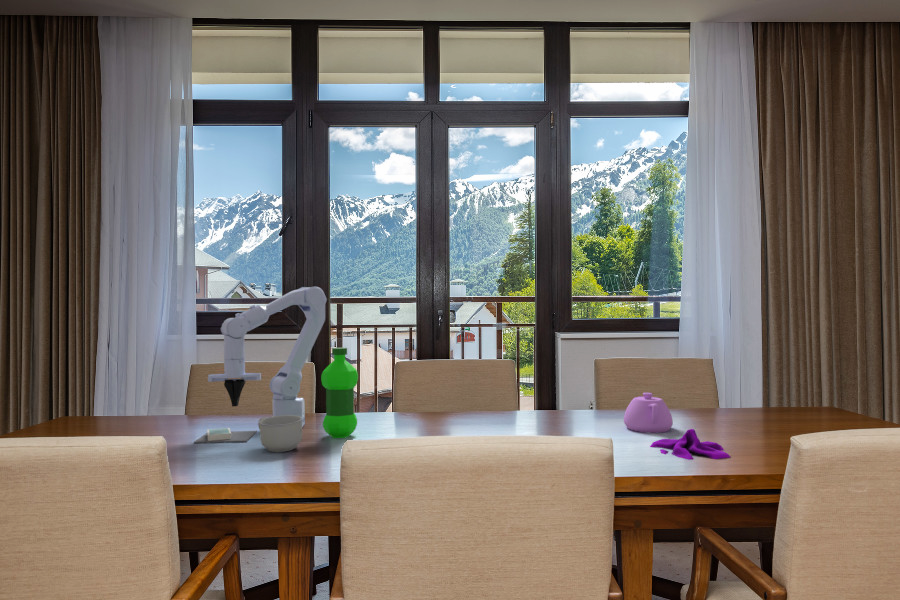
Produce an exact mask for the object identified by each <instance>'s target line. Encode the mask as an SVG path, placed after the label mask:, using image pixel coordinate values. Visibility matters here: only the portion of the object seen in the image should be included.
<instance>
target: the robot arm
mask: <svg viewBox="0 0 900 600" xmlns="http://www.w3.org/2000/svg"><path fill="white" fill-rule="evenodd" d="M327 300H328V298H327V297H326V295H325V292H324V290H323V289H322V288H321V287H318V286H311V287H310V286H309V287H306V286H302V287H300V288H298V289H294V290H291V291H288V292H287V293H285V294H283V295H282V296H280V297H278V298H276V299H275V300H273V301H271V302H269V303H268V304H266V305H264V306H262V305H259V304H257V305H255V304H252V305H250V306H249V309H247V310H244V311H243V312H238V313H235V317H228V318H227V319H225V320H223V322H222V324H221V327H220V332H221V334H222V335H223V367H224V368H223V370H224V373H216V374H208V375H207V382H208V383H212V382H224V383H223V385H224V388H225V389H226V392H227V393H228V395H229V398H230V401H231V403H230V404H231V406H232V407H238V406H239V402H240V398H241V394H242V391H243V389H244V386H245V384H246V381H261V380H262V373H261V372H257V373H255V372H246V350H245V349H246V346H245V344H246V343H245V336H246V334H247V333H248V332H250V331H252V330H255V328H258V327H259V326H262V325H263V324H265V323H267V322H268V320H269V318H270V316H271V315H274V314H276V313H278V312H280V311H283V310H284V309H287V308H289V307H291V306H294V305H295V306H298V307H299V308H300V309H301V311H302V312H303V313H304V316H305V318H306V320H305V322H304V324H303V326H302V328H301V331H300V333H299V335H298V337H297V339H296V341H295V343H294V345H293V347H292V349H291V351H290V353H289V355H288V357H287V360H286V362H285V363H284V365H283V366H282V367H280V368H279V370H278V372H277V373H276V374H275V375H274V376H273V377H272V378H271V380H270V381H269V389H270V392H271V393H272V394H273V395H272V417H273V416H280V415H296V416H300V417H301V418H302V428H303V427H304V426H305V425H306V418H305V416H306V414H305V412H306V411H305V409H306V408H305V406H306V405H305V398H304V397H298V395H299V393H300V390H301V382H302V379H303V373H302V371H303V368H304V366H305V363H306V362H307V359H308V357H309V355H310V353H311V351H312V349H313V347H314V345H315V343H316V340H317V338H318V336H319V334H320V332H321V331H322V328H323V325H324V323H325V322H326V303H327Z"/></svg>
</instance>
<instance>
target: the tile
mask: <svg viewBox="0 0 900 600" xmlns="http://www.w3.org/2000/svg"><path fill="white" fill-rule="evenodd" d="M206 431H207V432H206V433H207V437H208V441H213V440H225V439H231V428H230V427H226V428H225V427H224V428H213V429H212V428H210V429H209V428H208V429H206Z"/></svg>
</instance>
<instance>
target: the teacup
mask: <svg viewBox="0 0 900 600" xmlns="http://www.w3.org/2000/svg"><path fill="white" fill-rule="evenodd" d="M257 425H258V429H259V436H260V442H261V445H262V447H264V449H267V450H268V451H269V452H272V453H283V452H290V451H293V450H294V449H296V447H297V446H298V445H299V444H300V443H301V441H302V438H303V427H302V418H301V417H300V416H296V415H280V416H273V415H272V416H270V417H269V416H268V417H266V416H263V417H261V418H260V419H259V420H258V423H257Z"/></svg>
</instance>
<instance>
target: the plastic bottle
mask: <svg viewBox="0 0 900 600" xmlns="http://www.w3.org/2000/svg"><path fill="white" fill-rule="evenodd" d="M331 355H332V356H333V360H332V362H331V363H330V364H328V366H326V367H325V369H324V370H323V371H322V373H321V377H320V380H321V385H322V386H323V388H324V389H325V411H326V412H325V413H326V415H325V416H324V418H323V421H322V427H323V431H324V432H325V433H326V434H328V435H329V436H330V437H331V438H333V439H345V437H346V438H349V437H350V436H351V435H352V434H353V433H354V432H355V431H356V428H357V426H358V418H357V415H356V413H355V406H354V404H355V400H354V399H355V395H354V394H355V390H354V388H355V387H356V386H357V385H358V384H357V383H358V380H359V373H358V370H357V368H355V367H354V366H353V365H352V364H351V363H350V362H349V361H347V360H346V355H348V348H347V347H332V348H331Z"/></svg>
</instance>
